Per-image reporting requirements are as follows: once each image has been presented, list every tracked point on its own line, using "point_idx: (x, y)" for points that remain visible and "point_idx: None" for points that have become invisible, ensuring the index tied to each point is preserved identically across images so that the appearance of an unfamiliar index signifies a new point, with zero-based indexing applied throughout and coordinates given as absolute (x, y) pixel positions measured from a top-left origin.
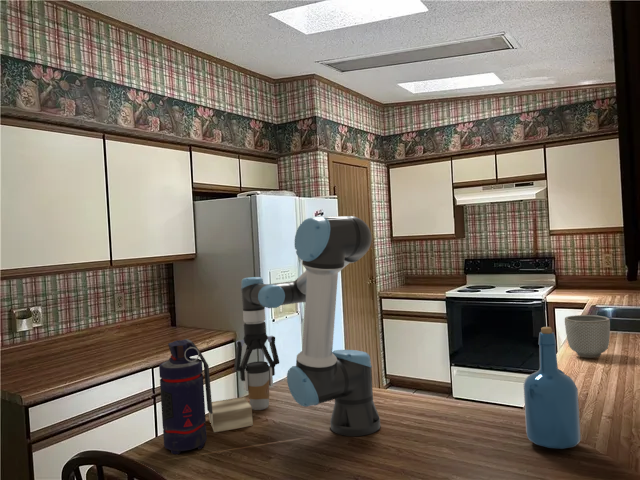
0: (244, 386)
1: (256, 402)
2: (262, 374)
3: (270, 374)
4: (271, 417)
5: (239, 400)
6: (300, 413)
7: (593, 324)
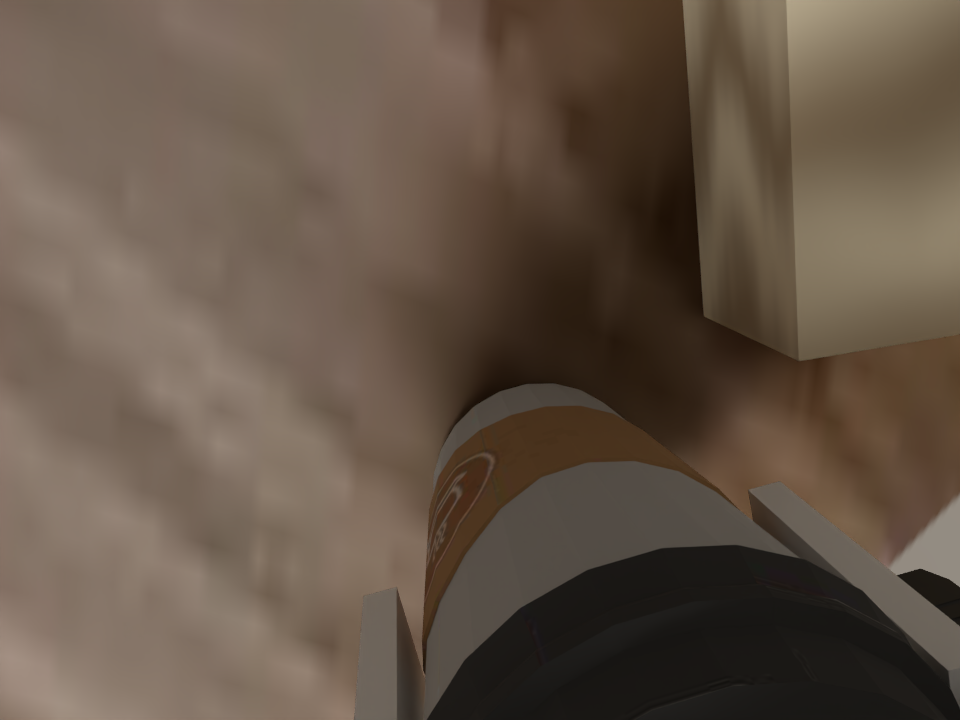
0: None
1: (595, 406)
2: (589, 557)
3: (392, 714)
4: (437, 77)
5: (888, 210)
6: (71, 84)
7: None
